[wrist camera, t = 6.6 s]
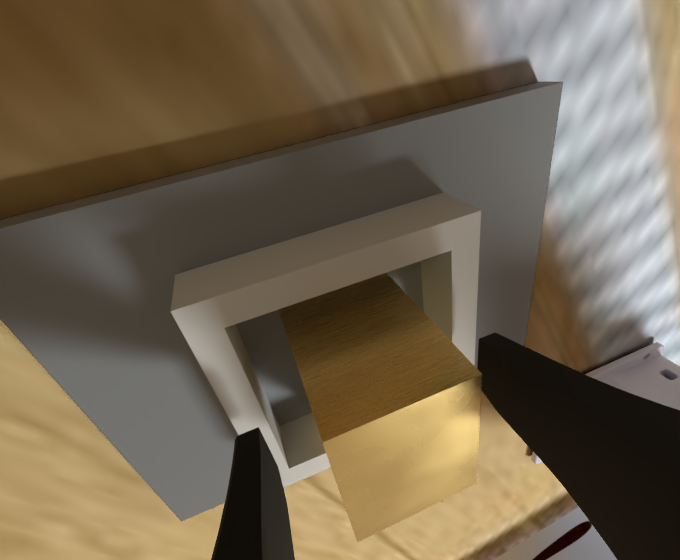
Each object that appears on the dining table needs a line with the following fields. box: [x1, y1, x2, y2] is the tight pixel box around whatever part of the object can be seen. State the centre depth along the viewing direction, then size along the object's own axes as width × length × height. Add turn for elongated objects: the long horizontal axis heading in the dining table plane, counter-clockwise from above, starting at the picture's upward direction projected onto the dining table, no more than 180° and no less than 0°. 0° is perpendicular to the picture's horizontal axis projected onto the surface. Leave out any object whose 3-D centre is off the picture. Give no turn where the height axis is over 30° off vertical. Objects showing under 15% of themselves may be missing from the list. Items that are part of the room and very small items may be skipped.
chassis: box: [0, 82, 563, 521], centre depth 13 cm, size 18×14×3 cm
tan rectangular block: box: [278, 273, 482, 542], centre depth 12 cm, size 4×5×6 cm
